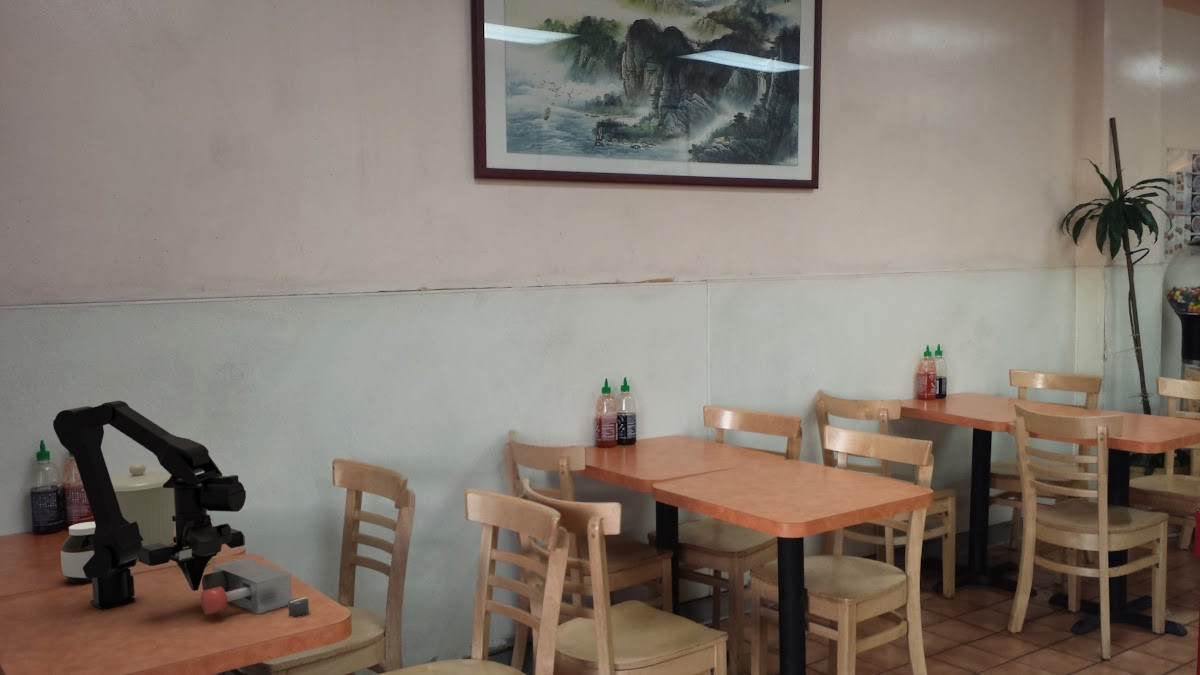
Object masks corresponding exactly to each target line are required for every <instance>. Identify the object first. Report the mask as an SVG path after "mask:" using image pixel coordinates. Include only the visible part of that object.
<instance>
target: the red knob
mask: <svg viewBox="0 0 1200 675" xmlns="http://www.w3.org/2000/svg"><path fill="white" fill-rule="evenodd" d="M248 596H251V587H250V586H248V587H244V588H240V589H236V590H232V591H229V592H225V590H224V589H223V588H222V587H216V588H212V589H208V590H204V591H203V590H202V591H201V593H200V605H201V608H202V611H203V612H204V613H205V614H206V615H211V614H214V613H218V612H219V613H220V612H223V611H225V610H226V609H227V606H228V602H229V601H233V600H236V599H240V598H244V597H248ZM229 603H230V602H229Z"/></svg>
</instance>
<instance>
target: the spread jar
mask: <svg viewBox="0 0 1200 675" xmlns="http://www.w3.org/2000/svg"><path fill="white" fill-rule="evenodd" d="M94 531H95V521H87V522H86V521H84V522H80V523H76V524H72V525H70V526H69V527H68V534H69V536H68V537H67V538H66V539H65V540H64V542H63V543H62V545H61V548H60V563H61V564H60V565H61V571H62V574H63V576H64V577H65V578H66V579H67V580H69V581H70V582H72V583H73V582H74V583H73V584H87V583H86V582H91V583H92V578H87V577H86V576H85V573H84V571H83V566H84V565H85V564H86V563H87V562H88V561H89V559H90V558H91V557H92V556H93V555H94V550H93V543H92V541H93V536H94Z"/></svg>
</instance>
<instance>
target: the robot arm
mask: <svg viewBox="0 0 1200 675" xmlns="http://www.w3.org/2000/svg"><path fill="white" fill-rule="evenodd" d="M52 423H53V424H52V426H53V430H54V432H55V434H56V435H55V436H56V438H58V440H59V443H60V444H61V446H62V447H64V449H66V450H67V451H68V452H69V454H71V455H72V456H73V459H74V461H75V464H76V468H77V471H78V474H79V477H80V480H81V483H82V487H83V490H84V493H85V496H86V499H87V502H88V505H89V508H90V512H91V515H92V518H93V520H94V521H93V522H95V531H94V536H93V541H92V543H93V550H94V555H93V556H92V557H91V558H90V559H89V561H88V562H87V563H86V564H85V565H84V566H83V571H84V573H85V576H86V577H87V578H92V582H91V583H92V585H91V586H92V598H93V599H92V600H91V599H90V600H89V604H91V605H93V606H95V607H97V608H99V609H101V610H105V609H110V608H113V607H117V606H121V605H126V604H130V603H134V602H136V600H137V599H136V598H135V580H134V579H135V578H134V575H131V569H130V568H134V567H135V566H136V565H137V562H139V563H142V564H144V565H146V566H149V567H155V566H160V565H163V564H168V563H169V562H170V561H172V562H175V563H176V564H177V566H178V568H180V571H181V573H182V574H183V575H184V577H185V579H186V581H187V583H188V585H189V587H190V589H191V590H192V591H193V592H196V591H198V590H199V588H200V584H201V583H202V578H203V576H204V574H205V570H206V567H207V566H208V565H207V563H208V561H209V562H210V561H211V559H212V558H214V557H216V556H217V555H218V553H221V552H222V547H223V545H225V546H227V547H228V548H229V549H235V548H239V547H240V548H241V547H244V546H245V545H246V536H245V535H244V533H243V531H241V530H239V529H235V528H232V527H231V525H230V524H229V523H222V524H219V525H214V526H213V523H212V518H211V515H210V514H208V511H209V512H228V513H229V512H231V513H232V512H233V513H237V512H240V511H241V510H242V509H243V507H244V505H245V502H246V498H247V496H246V495H247V491H246V489H245V486H244V485H243V484H242V482H240V481H239V475H235V474H234V475H233V474H232V475H223V473H222V471H221V470H220V469H219V467H218V466H217V464H216V463H215V462H214V461H213V459H212V458H211V456H210V455H209V452H210V451H209V450H208V448H207V447H206V446H205V445H204V444H201V443H200V442H197V441H195V440H192V439H190V438H185V437H182V436H177V435H174V434H172V433H170V432H169V431H167V430H166V429H164V428H163V427H161V426H160V425H158V424H156V423H155V422H154V421H152V420H150V419H149V418H147V417H146V416H144V415H142V414H141V413H139V412H138V411H136V410H135V409H134V408H132V407H130V405H129V404H128V403H127V402H125V401H122V400H113V401H107V402H104V403H102V404H100V405H96V406H90V405H87V406H79V407H75V408H70V409H64V410H61V411H59V412H58V413H57V414H56V416H55V418H54V419H53V422H52ZM107 425H110V426H111V427H112V428H114V429H116V430H118V431H119V432H121V433H122V434H123V435H125V436H126V437H128V438H130V439H131V440H132V441H134V442H135V443H137V444H139V445H140V446H142V447H143V448H145V449H146V450H148V451H149V452H151V453H152V454H153V455H154V456H155V457H156V458H157V460H158V463H159V465H160V466H161V467H162V468H163V469H165V471H166V472H167V473H170V474H171V475H172V476H171V477H170V479H169V480H168V481H167V482H166V483H164V484H163V487H164V488H174V506H175V515H174V516H172V521H174V522H175V526H174V527H175V536H173V540H172V541H173V543H175V544H171V545H170V546H166V545H163V544H161V543H156V544H151V545H147V546H142V542H141V541H143V540H144V539H143V538H142V537H141V535H140V532H139V526H138V524H137V522H133V523H129V522H128V521H127V520H126V519H125V518H124V517H123V516H122V513H121V510H120V507H119V504H118V501H117V497H116V494H115V491H114V488H113V485H112V482H111V479H110V478H111V476H110V472H109V470H108V466H107V463H106V461H105V460H106V459H105V457H104V453H103V450H102V443H103V439H104V435H105V430H104V426H107ZM184 547H188V548H184ZM206 565H207V566H206Z"/></svg>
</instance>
